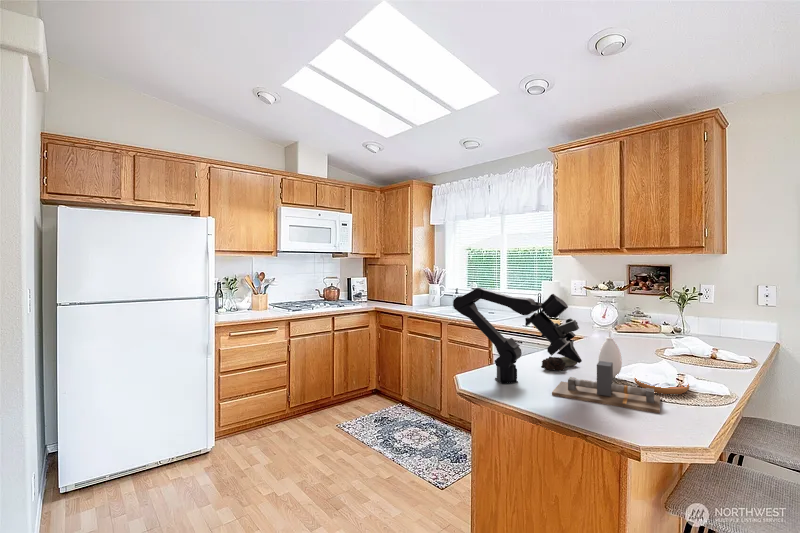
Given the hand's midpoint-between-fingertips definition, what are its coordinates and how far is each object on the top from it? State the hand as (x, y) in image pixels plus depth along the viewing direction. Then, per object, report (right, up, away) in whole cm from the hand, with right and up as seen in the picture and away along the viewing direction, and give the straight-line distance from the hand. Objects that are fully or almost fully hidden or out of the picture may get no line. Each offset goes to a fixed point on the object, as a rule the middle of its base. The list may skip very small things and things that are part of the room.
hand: (580, 362), depth 133 cm
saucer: (+30, -11, +4) cm, 32 cm away
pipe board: (+6, -10, -4) cm, 13 cm away
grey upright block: (+6, -9, -4) cm, 12 cm away
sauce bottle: (+19, -10, +17) cm, 28 cm away
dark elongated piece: (+6, -11, +31) cm, 34 cm away
